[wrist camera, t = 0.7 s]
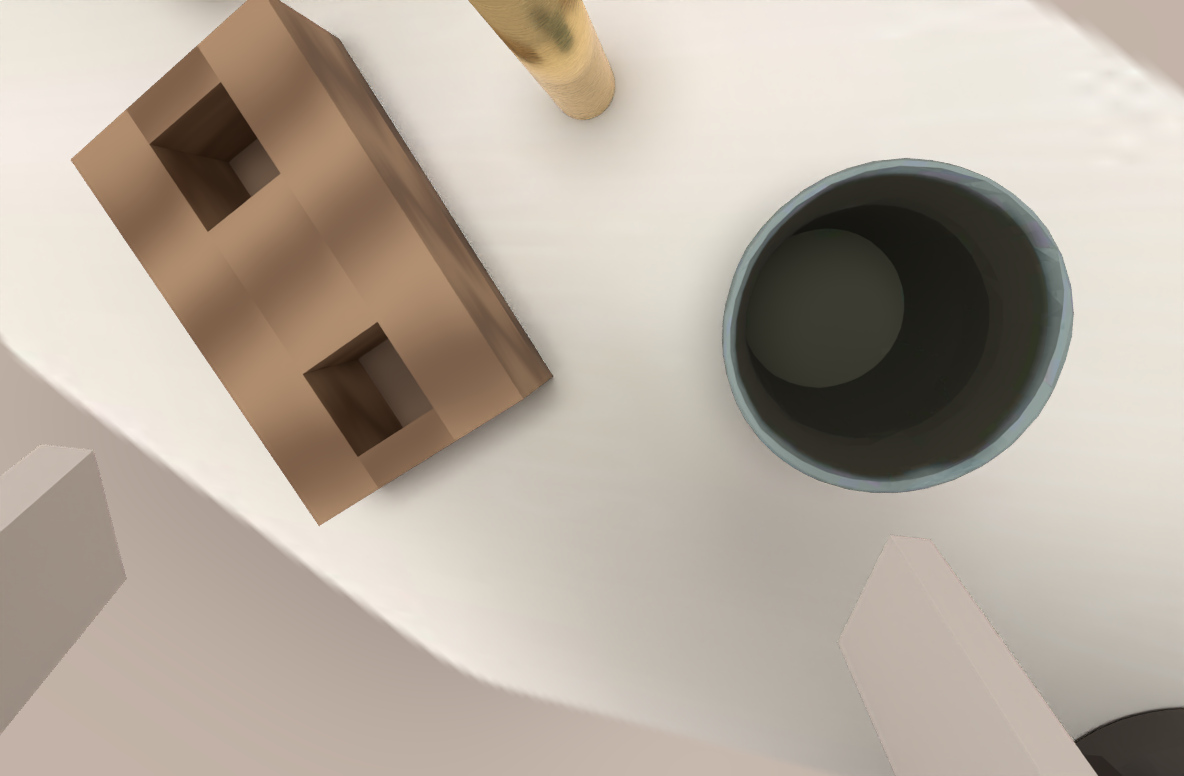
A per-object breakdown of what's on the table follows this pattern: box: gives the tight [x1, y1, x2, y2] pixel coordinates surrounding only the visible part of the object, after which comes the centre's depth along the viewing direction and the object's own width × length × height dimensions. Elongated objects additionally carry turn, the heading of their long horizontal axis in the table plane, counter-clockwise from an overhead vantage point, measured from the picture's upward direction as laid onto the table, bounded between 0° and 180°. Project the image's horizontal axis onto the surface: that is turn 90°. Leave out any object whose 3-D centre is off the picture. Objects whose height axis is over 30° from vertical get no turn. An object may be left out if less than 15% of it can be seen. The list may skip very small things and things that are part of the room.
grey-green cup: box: [722, 158, 1074, 493], centre depth 25 cm, size 10×10×12 cm
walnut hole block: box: [71, 0, 553, 526], centre depth 32 cm, size 20×12×6 cm, turn 32°
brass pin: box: [469, 0, 615, 120], centre depth 24 cm, size 3×3×14 cm
